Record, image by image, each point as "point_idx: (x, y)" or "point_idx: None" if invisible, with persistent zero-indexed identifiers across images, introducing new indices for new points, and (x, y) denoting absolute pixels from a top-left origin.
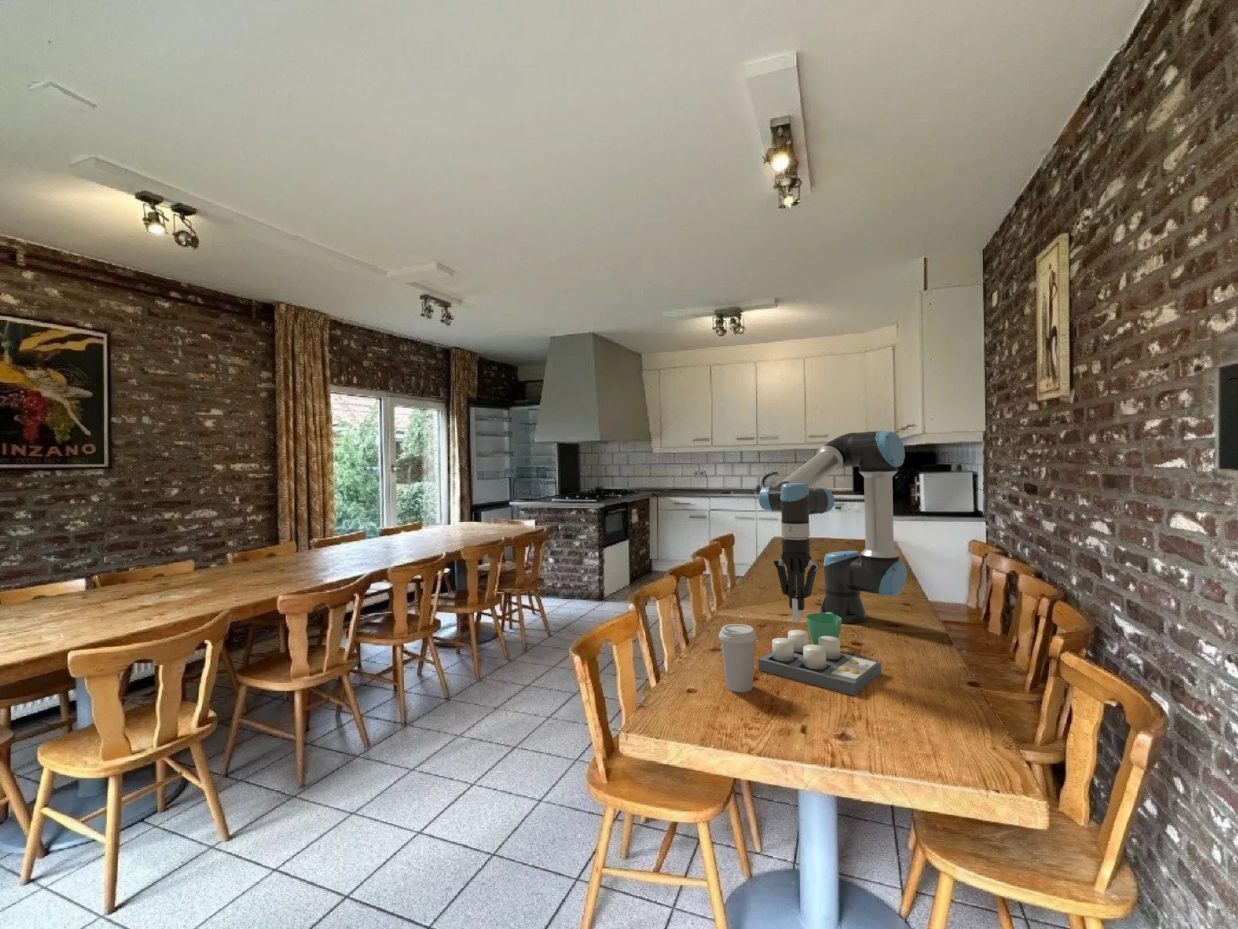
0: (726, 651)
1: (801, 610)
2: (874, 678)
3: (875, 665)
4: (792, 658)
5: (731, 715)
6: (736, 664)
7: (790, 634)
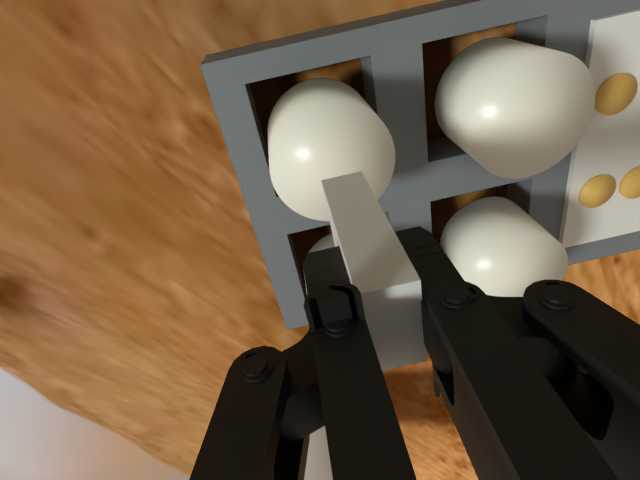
0: None
1: (381, 209)
2: None
3: None
4: None
5: (418, 464)
6: None
7: (321, 219)
